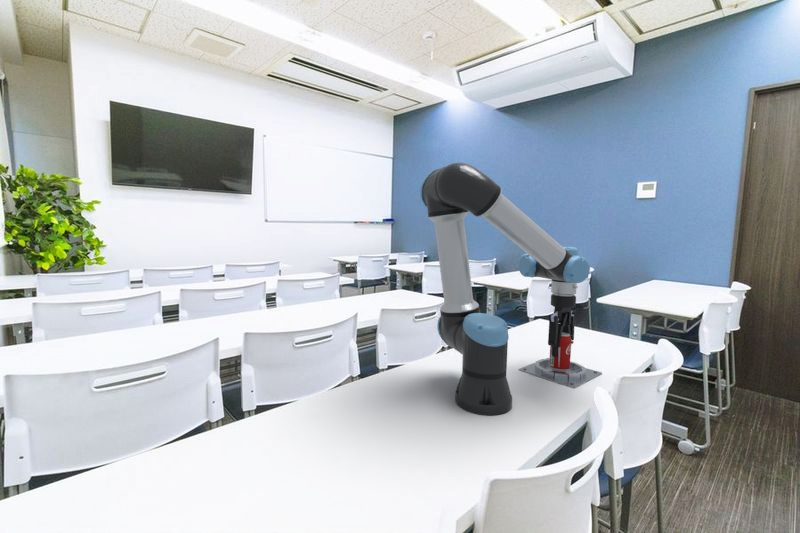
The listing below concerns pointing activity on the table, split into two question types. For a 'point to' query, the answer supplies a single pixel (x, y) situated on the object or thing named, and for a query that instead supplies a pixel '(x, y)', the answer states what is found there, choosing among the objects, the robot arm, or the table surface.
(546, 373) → the duct flange
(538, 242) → the robot arm
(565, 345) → the beverage can
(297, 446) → the table surface
